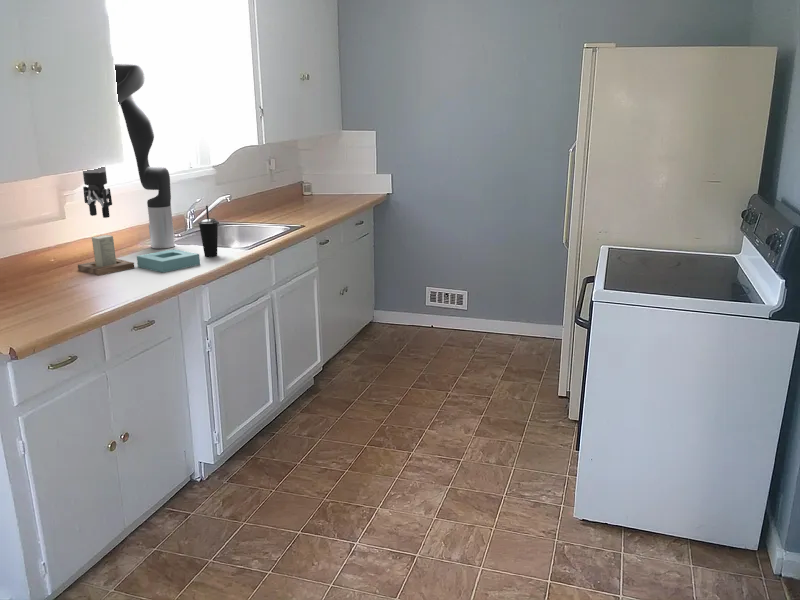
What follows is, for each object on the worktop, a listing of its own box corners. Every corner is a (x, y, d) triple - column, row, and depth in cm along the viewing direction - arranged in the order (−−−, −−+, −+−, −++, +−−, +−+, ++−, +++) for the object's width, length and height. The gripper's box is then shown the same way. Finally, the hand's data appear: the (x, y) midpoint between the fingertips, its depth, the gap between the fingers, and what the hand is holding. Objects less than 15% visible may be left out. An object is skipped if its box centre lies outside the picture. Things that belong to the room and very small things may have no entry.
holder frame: (78, 270, 255) (77, 264, 255) (113, 263, 266) (113, 258, 266) (98, 275, 247) (98, 269, 247) (134, 268, 258) (133, 262, 257)
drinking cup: (201, 258, 273) (196, 207, 267) (201, 254, 280) (196, 204, 274) (221, 257, 274) (217, 206, 269) (220, 253, 282) (216, 203, 276)
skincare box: (111, 266, 260) (107, 234, 257) (117, 268, 258) (113, 235, 254) (95, 269, 256) (91, 237, 252) (101, 271, 253) (97, 238, 250)
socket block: (137, 266, 260) (136, 256, 259) (174, 259, 272) (173, 249, 271) (163, 272, 250) (162, 261, 249) (200, 264, 263) (199, 253, 262)
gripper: (73, 170, 248) (79, 216, 253) (95, 172, 240) (100, 219, 244) (93, 169, 254) (99, 213, 258) (115, 171, 246) (120, 216, 250)
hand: (99, 216), depth 251 cm, fingers open, 8 cm apart
